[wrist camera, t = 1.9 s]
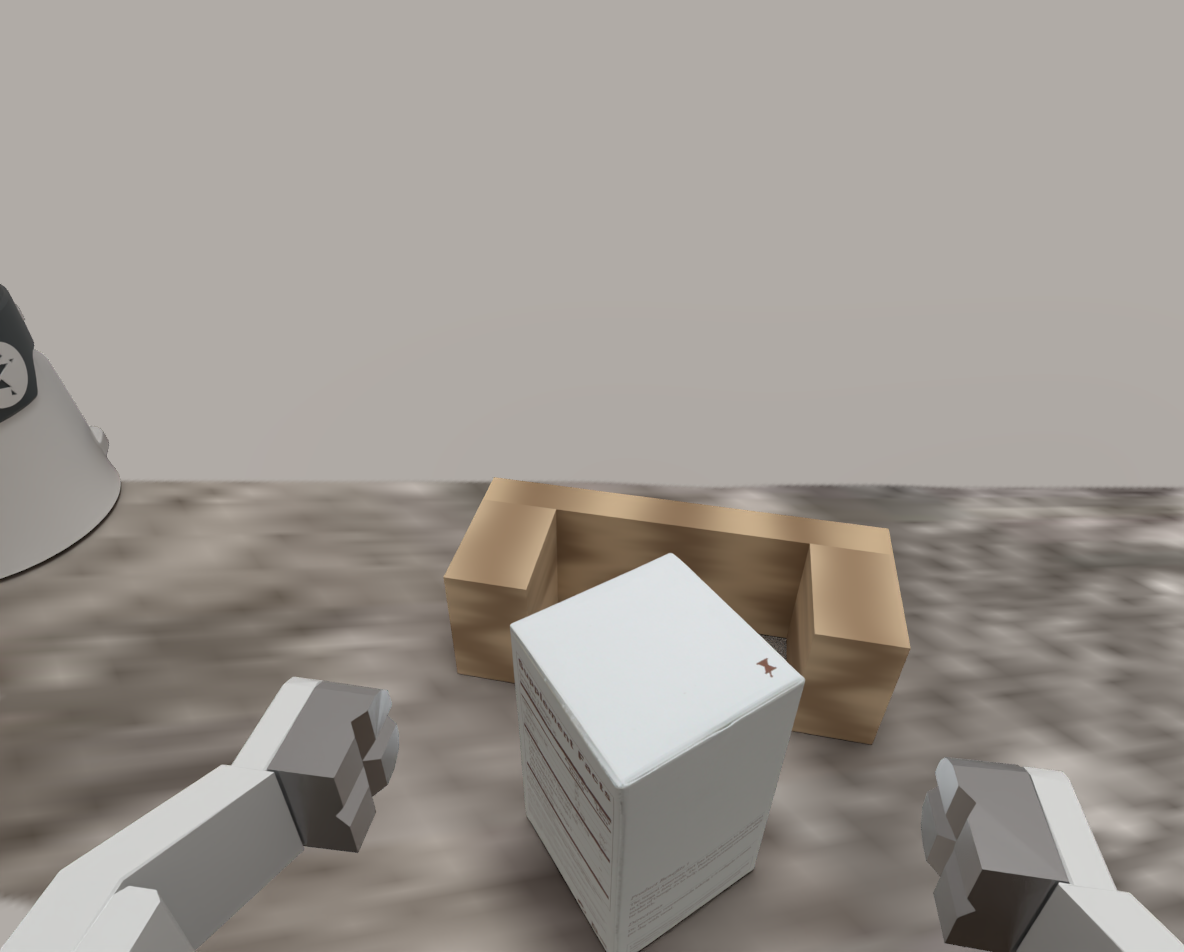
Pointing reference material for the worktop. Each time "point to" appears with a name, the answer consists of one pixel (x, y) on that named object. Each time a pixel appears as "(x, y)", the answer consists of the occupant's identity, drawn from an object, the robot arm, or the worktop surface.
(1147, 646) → the worktop surface
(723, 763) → the supplement box
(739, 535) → the oak rack
